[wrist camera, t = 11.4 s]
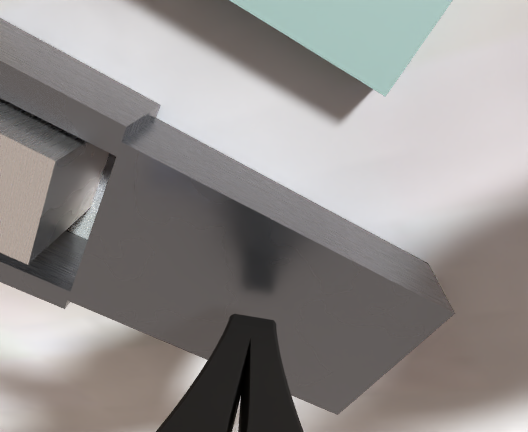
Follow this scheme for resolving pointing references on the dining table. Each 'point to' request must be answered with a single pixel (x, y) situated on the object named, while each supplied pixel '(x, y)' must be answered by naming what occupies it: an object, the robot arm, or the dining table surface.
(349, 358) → the grey sliding box
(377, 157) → the dining table surface
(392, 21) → the mint green square slab
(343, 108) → the dining table surface
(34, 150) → the block
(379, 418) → the dining table surface
